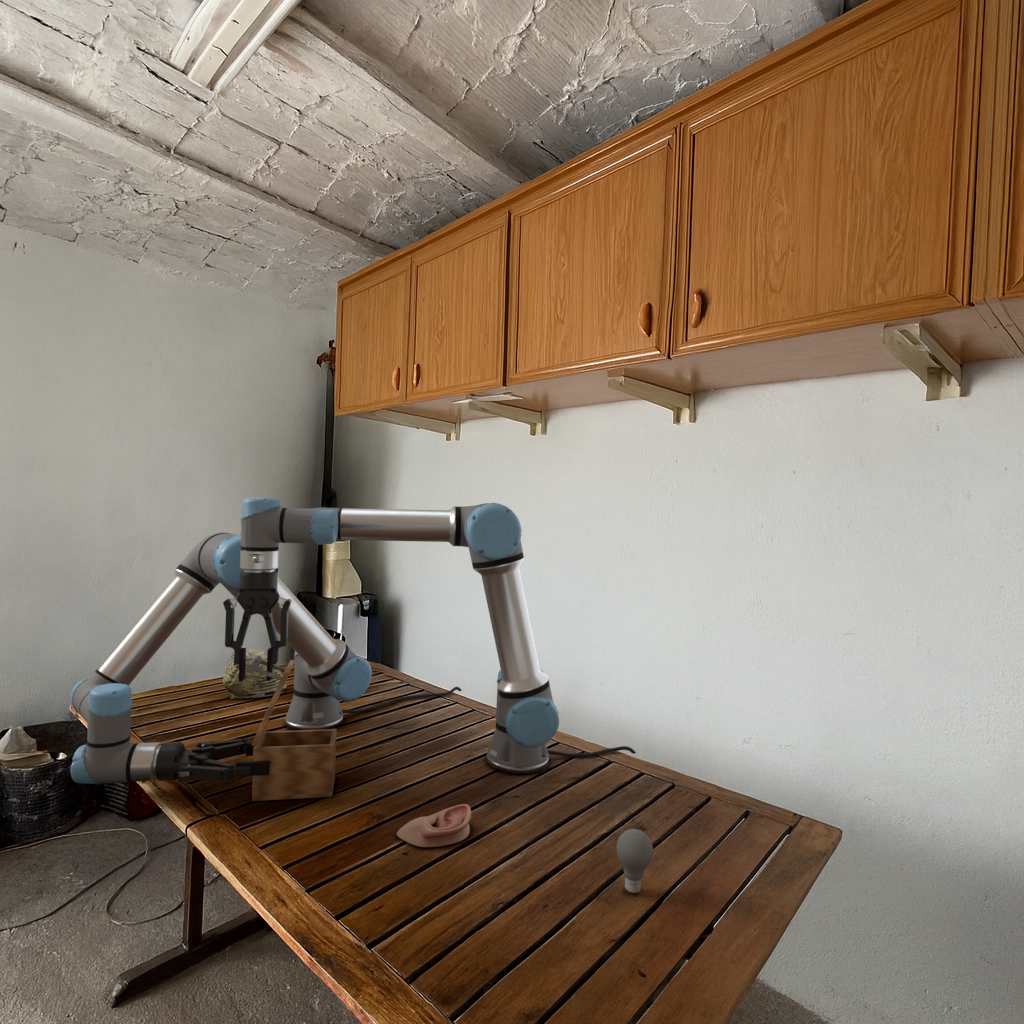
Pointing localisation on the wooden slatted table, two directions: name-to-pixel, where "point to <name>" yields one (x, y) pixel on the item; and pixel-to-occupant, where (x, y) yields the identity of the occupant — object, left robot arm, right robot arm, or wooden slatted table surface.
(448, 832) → the anatomical model
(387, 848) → the wooden slatted table surface
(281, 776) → the chest
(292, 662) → the lid
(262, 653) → the fossil
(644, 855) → the light bulb
